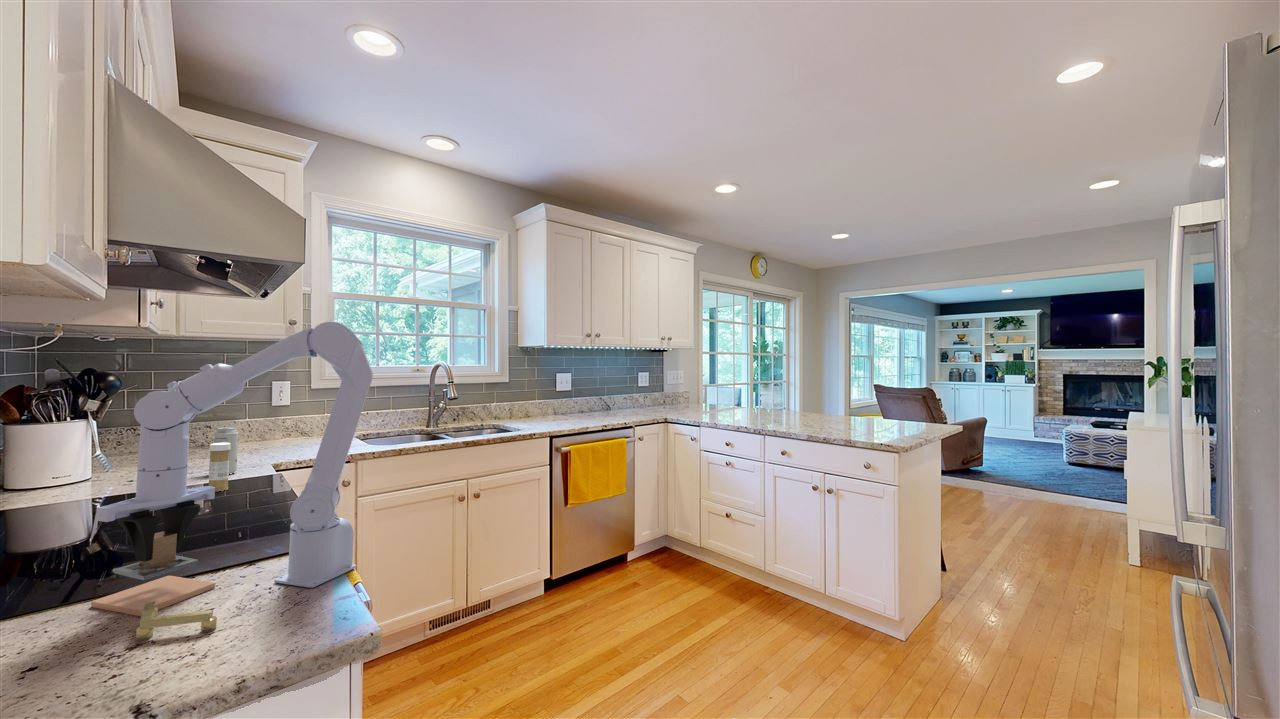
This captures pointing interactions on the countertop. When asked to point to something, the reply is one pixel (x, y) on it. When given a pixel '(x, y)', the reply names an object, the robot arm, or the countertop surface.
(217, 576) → the countertop surface
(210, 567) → the countertop surface
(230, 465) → the energy drink can
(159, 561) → the grey window frame
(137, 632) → the brass bent rod
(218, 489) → the sprinkles bottle
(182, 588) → the tile
